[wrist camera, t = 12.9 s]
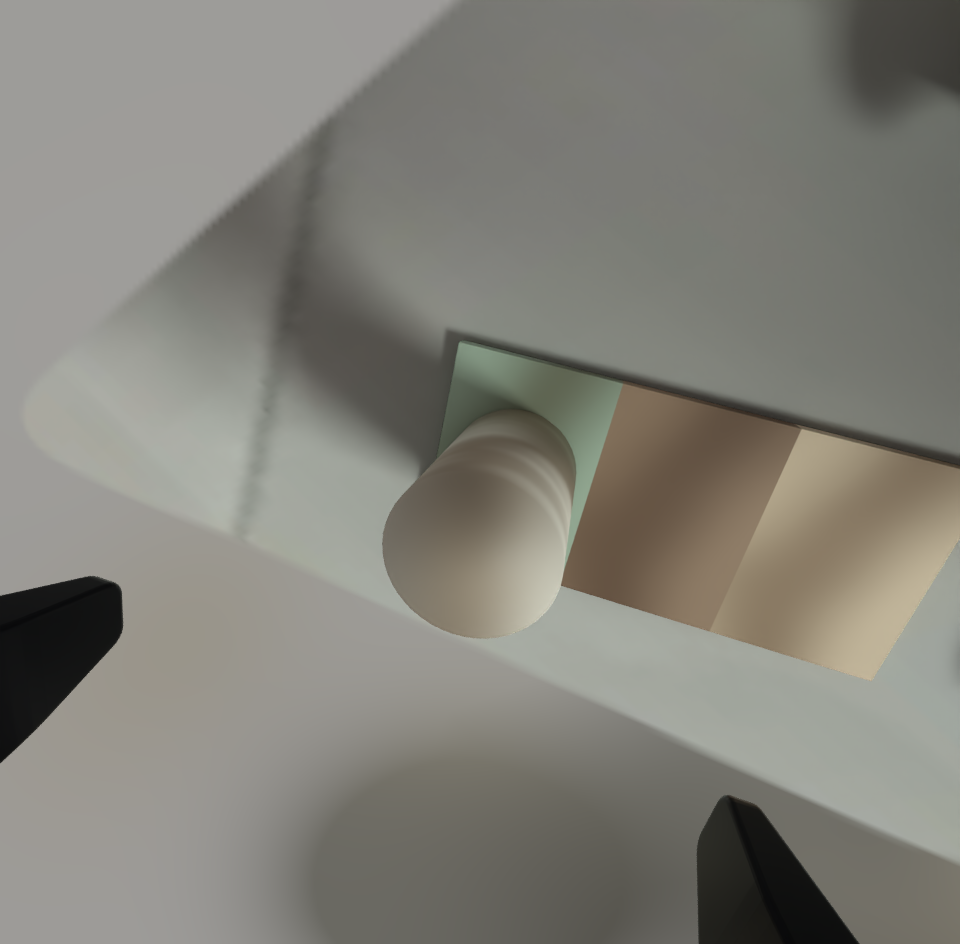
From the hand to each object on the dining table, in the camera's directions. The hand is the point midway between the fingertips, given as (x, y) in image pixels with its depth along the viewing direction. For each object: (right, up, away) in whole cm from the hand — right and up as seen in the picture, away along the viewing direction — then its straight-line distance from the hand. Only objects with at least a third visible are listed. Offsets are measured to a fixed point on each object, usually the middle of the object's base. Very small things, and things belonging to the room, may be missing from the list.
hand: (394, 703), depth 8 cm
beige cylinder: (+2, +3, +10) cm, 10 cm away
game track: (+7, +2, +9) cm, 12 cm away
